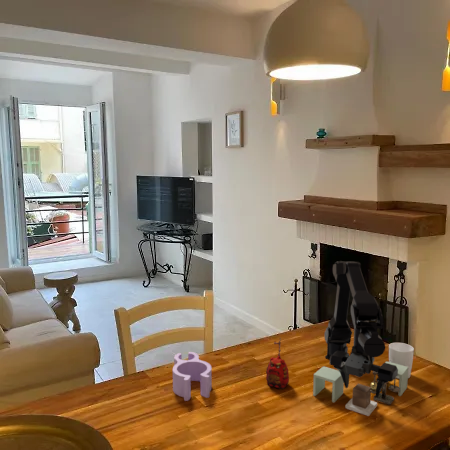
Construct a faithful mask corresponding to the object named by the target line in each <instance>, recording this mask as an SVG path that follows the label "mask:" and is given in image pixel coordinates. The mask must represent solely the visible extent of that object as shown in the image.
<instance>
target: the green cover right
mask: <svg viewBox="0 0 450 450" xmlns="http://www.w3.org/2000/svg"><path fill="white" fill-rule="evenodd" d="M384 363H388V364H391V365H395V366H396V367H397V369H398V375H397V376H398V377H399V380H398V387H399V388H400V391H399V392H398V396H399V397H401V396H403V393H404V392H405V391H406V390H407V389H408V379H409V378H408V367H407V366H403V365H399V364H395V363H391V362H389V361H387V360H386V361H385V362H384Z"/></svg>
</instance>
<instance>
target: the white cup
mask: <svg viewBox="0 0 450 450" xmlns="http://www.w3.org/2000/svg"><path fill="white" fill-rule="evenodd" d="M414 349H415V348H414V347H413V346H412V345H410V344H407V343H404V342H392V343H389V344H388V362H391V363H395V364H399V365H403V366H407V367H408V379H409V378H410V377H411V373H412V368H413V361H414ZM396 379H399V377H398V376H396Z"/></svg>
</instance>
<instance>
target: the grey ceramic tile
mask: <svg viewBox="0 0 450 450" xmlns="http://www.w3.org/2000/svg"><path fill="white" fill-rule="evenodd" d="M377 406H378V401H375V400H370V404H369V405H368V406H367V408H366V409H364V408H361V407H358V406H355V405H353V404H352V398H350V399H349V401H348V402H347V403H346V404H345V409H347V410H348V411H349V410H350V411H352V412H355V413H359V414H361V415H365V416H367V417H369V416H370V415H371V414H372V412H374V410H375V409H376V408H377Z"/></svg>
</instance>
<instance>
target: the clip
mask: <svg viewBox="0 0 450 450" xmlns="http://www.w3.org/2000/svg"><path fill="white" fill-rule="evenodd" d="M187 355H188V360H186V359H182V357H183V356H182V353H181V352H178V353H176V354H175V355H174V356H173V357H174V358H173V359H174V360H173V361H174V364H173V367H172V391H173V393H174V394H175V395H177V396H179V397H180V398H181V397H182V398H183V400H184V402H186V401H187V402H188V401H190V399H191V392H192V390H191V386H192V383H191V382H194V381H195V382H200V384H199V385H200V396H201V397H204V398H207V399H208V398H210V393H211V391H212V376H213V375H212V372H213V371H212V365H211V364H210V362H207V361H205V360H201V359H199V358H200V356H199V354H198V353H197V352H193V351H188V354H187Z"/></svg>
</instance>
